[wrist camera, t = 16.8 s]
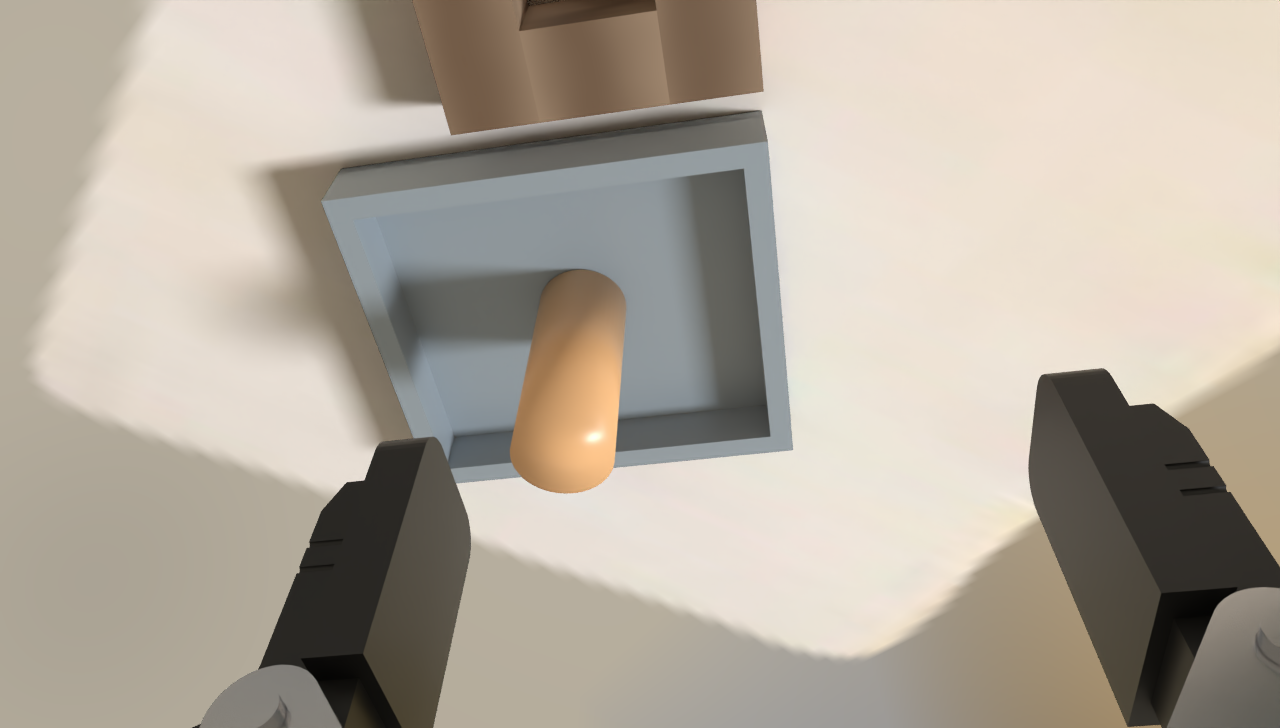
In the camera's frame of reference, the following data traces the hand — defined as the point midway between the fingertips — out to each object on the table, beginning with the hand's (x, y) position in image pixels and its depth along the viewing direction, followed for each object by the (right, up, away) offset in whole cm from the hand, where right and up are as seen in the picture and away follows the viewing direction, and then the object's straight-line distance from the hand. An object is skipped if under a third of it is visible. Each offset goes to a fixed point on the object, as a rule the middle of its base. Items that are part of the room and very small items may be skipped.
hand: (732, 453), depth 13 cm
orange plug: (-4, +4, +32) cm, 32 cm away
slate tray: (-4, +4, +32) cm, 33 cm away
